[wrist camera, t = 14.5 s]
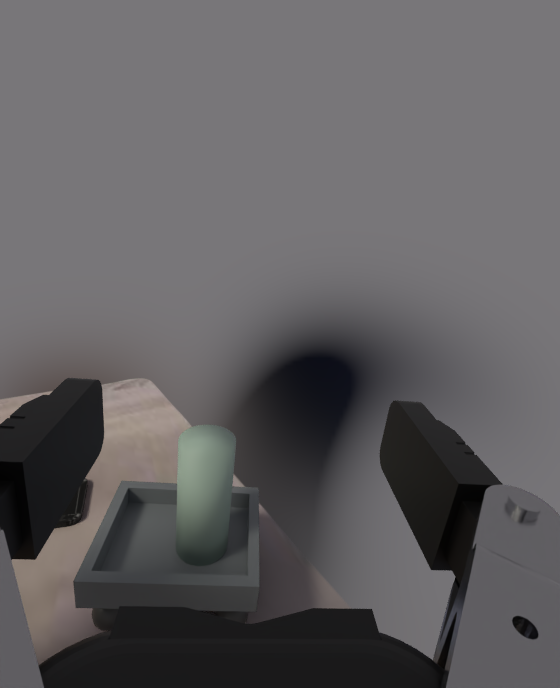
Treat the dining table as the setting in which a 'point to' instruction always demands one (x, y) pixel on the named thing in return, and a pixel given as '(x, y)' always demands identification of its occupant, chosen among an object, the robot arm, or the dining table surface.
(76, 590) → the tray
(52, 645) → the dining table surface
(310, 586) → the dining table surface
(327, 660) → the robot arm
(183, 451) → the pale green cylinder
